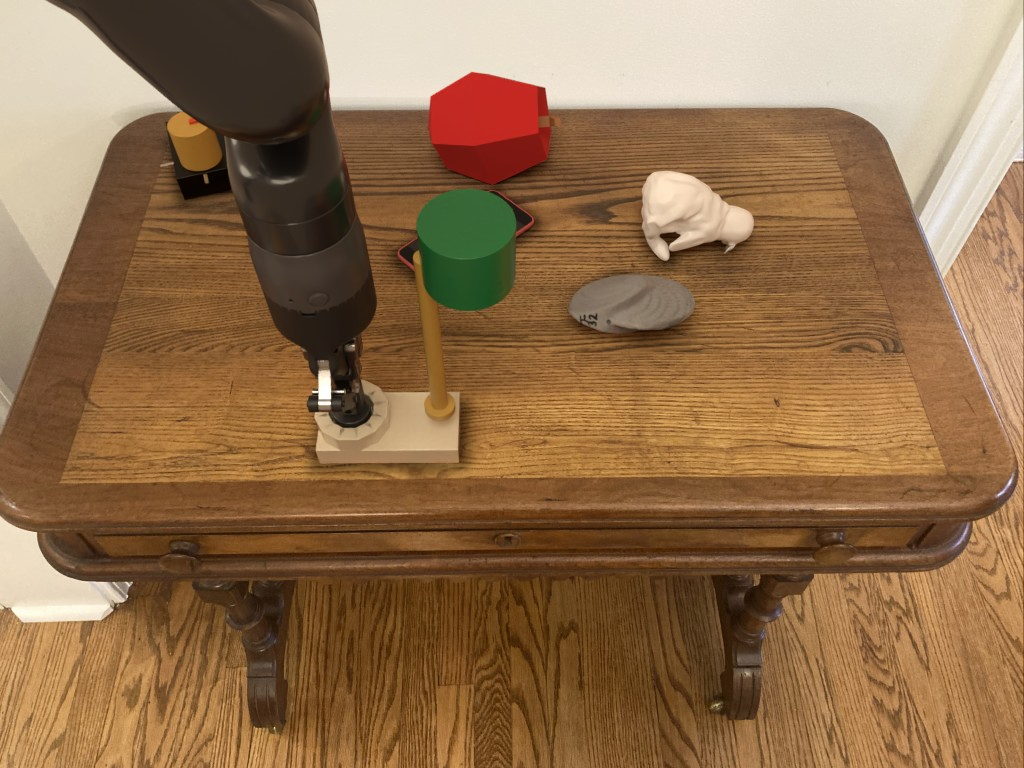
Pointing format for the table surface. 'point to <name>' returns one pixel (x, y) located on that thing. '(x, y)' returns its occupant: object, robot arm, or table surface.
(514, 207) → the smartphone
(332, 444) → the lamp base
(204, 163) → the dimmer knob
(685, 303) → the seashell
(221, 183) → the panel
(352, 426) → the lamp switch
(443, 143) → the apple
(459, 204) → the lamp
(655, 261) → the table surface
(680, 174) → the cream figurine
